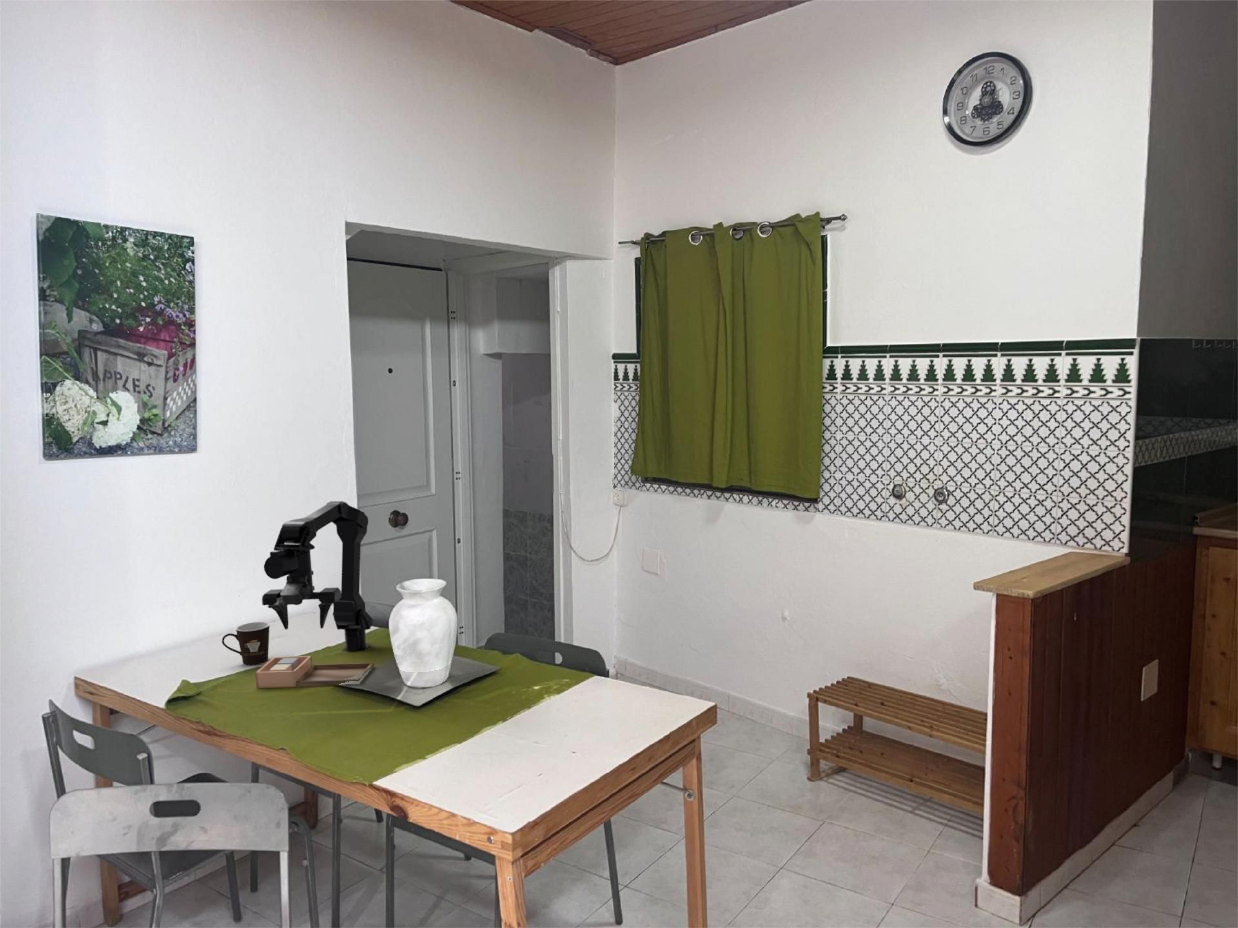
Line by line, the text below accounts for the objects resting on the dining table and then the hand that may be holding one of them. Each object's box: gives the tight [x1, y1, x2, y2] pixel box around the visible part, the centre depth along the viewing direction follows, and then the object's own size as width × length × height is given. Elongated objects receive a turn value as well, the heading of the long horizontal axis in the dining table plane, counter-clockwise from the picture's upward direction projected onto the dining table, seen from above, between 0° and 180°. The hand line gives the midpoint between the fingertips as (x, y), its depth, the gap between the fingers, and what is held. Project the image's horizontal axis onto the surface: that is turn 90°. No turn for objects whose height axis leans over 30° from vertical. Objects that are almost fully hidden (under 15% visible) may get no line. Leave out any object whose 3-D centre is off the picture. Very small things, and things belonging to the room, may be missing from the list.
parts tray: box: [296, 662, 375, 688], centre depth 232 cm, size 13×16×2 cm
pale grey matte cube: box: [277, 658, 299, 671], centre depth 234 cm, size 4×4×4 cm
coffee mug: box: [221, 621, 270, 666], centre depth 248 cm, size 12×9×10 cm
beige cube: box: [269, 664, 292, 671], centre depth 229 cm, size 4×4×4 cm
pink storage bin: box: [255, 655, 313, 689], centre depth 231 cm, size 12×10×4 cm
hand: (304, 628), depth 233 cm, fingers open, 9 cm apart
